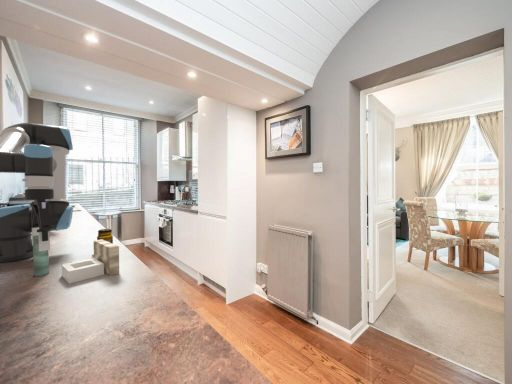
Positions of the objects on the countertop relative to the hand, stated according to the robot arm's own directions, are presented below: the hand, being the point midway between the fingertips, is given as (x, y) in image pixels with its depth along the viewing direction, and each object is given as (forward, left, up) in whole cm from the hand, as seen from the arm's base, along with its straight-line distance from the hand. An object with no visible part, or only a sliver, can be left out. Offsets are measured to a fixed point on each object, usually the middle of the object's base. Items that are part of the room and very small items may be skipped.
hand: (40, 247), depth 82 cm
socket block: (+13, +9, -10) cm, 18 cm away
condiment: (-8, +22, -10) cm, 26 cm away
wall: (+12, +17, -10) cm, 23 cm away
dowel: (0, 0, -10) cm, 10 cm away
